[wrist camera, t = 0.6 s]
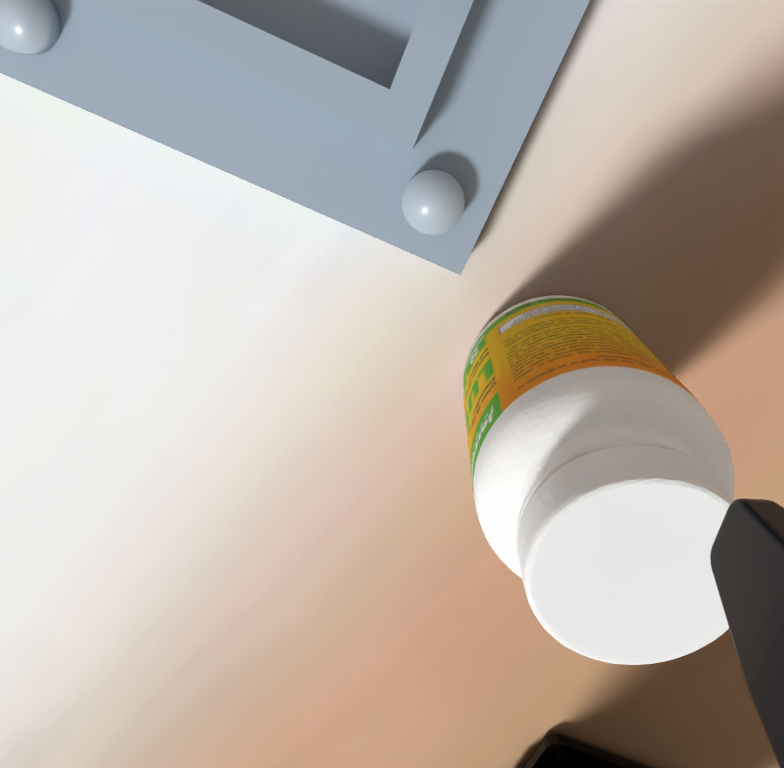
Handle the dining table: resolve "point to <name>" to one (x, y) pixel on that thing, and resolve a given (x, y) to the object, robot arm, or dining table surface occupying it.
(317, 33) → the base plate
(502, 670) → the dining table surface
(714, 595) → the supplement bottle
